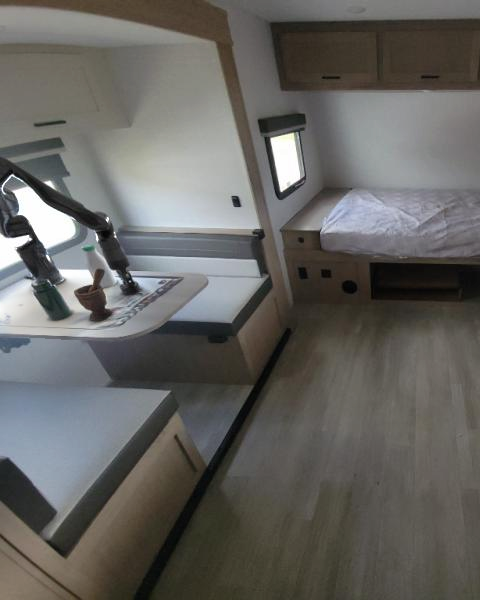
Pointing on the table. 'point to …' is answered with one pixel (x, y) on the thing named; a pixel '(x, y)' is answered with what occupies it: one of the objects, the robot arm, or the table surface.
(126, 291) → the lid
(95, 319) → the mortar and pestle
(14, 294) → the table surface
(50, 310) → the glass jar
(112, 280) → the milk bottle
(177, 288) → the table surface
